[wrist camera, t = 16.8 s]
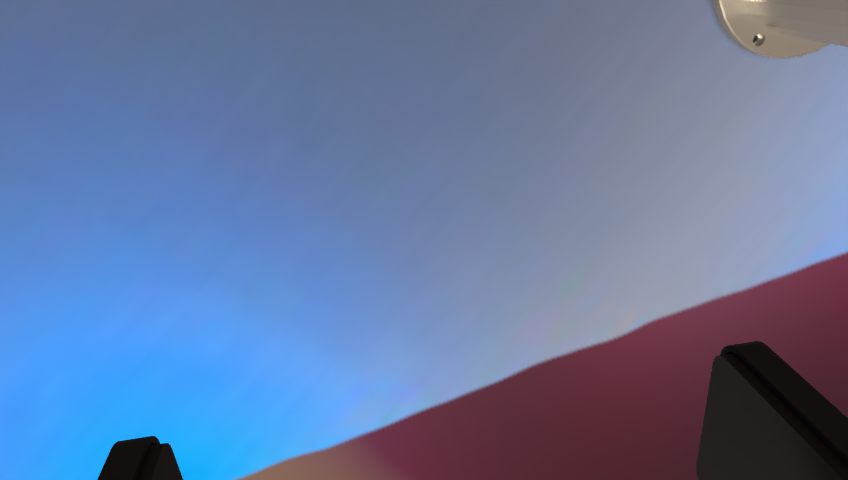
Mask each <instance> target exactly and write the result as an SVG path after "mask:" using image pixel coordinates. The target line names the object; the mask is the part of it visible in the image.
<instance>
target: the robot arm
mask: <svg viewBox="0 0 848 480" xmlns="http://www.w3.org/2000/svg"><path fill="white" fill-rule="evenodd" d="M713 4H714V9H715V12H716V15H717V17H718V19H719V22H720V24H721V26H722V27H723V29H724V30H725V32H726V33H727V34H728V36H729V37H730V38H731V39H732V40H733V41H734V42H736V43H737V44H738V45H739V46H740V47H742V48H744V49H746V50H748V51H750V52H752V53H754V54H759V55H762V56H766V57H772V58H782V59H784V58H793V57H800V56H803V55H806V54H809V53H813V52H816V51H818V50H819V49H821V48H823V47H825V46H827V45H829V44H835V45H840V46H846V47H848V0H713ZM697 476H698V479H699V480H848V418H847V417H846V416H845V415H843V414H842V413H841V412H840V411H839V410H838V409H837V408H836V407H835V406H833V405H832V404H831V403H830V402H829V401H828V400H827V399H826V398H825V397H823V396H822V395H821V394H820V393H819V392H818V391H817V390H816V389H815V388H813V387H812V386H811V385H810V384H809V383H808V382H807V381H805V380H804V379H803V378H802V377H801V376H800V375H799V374H798V373H797V372H796V371H794V370H793V369H792V368H791V367H790V366H789V365H788V364H787V363H786V362H784V361H783V360H782V359H781V358H780V357H779V356H778V355H777V354H776V353H774V352H773V351H772V350H771V349H770V348H769V347H768V346H766V345H765V344H764V343H762V342H758V341H755V342H749V343H742V344H735V345H730V346H726V347H724V348H723V350H722V351H721V354H720V356H717V357H715V359H714V361H713V366H712V372H711V378H710V385H709V391H708V397H707V403H706V410H705V416H704V422H703V428H702V434H701V441H700V447H699V453H698V459H697ZM98 480H183V478H182V476H181V473H180V470H179V467H178V464H177V462H176V459H175V456H174V453H173V450H172V448H171V446H170V445H169V444H168V443H165V444H160V442H159V440H158V439H157V438H156V437H155V436H150V437H144V438H137V439H131V440H124V441H118V442H117V443H115V444H114V445H113V447H112V449H111V451H110V453H109V455H108V457H107V460H106V462H105V464H104V466H103V469H102V471H101V473H100V475H99V477H98Z"/></svg>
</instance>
